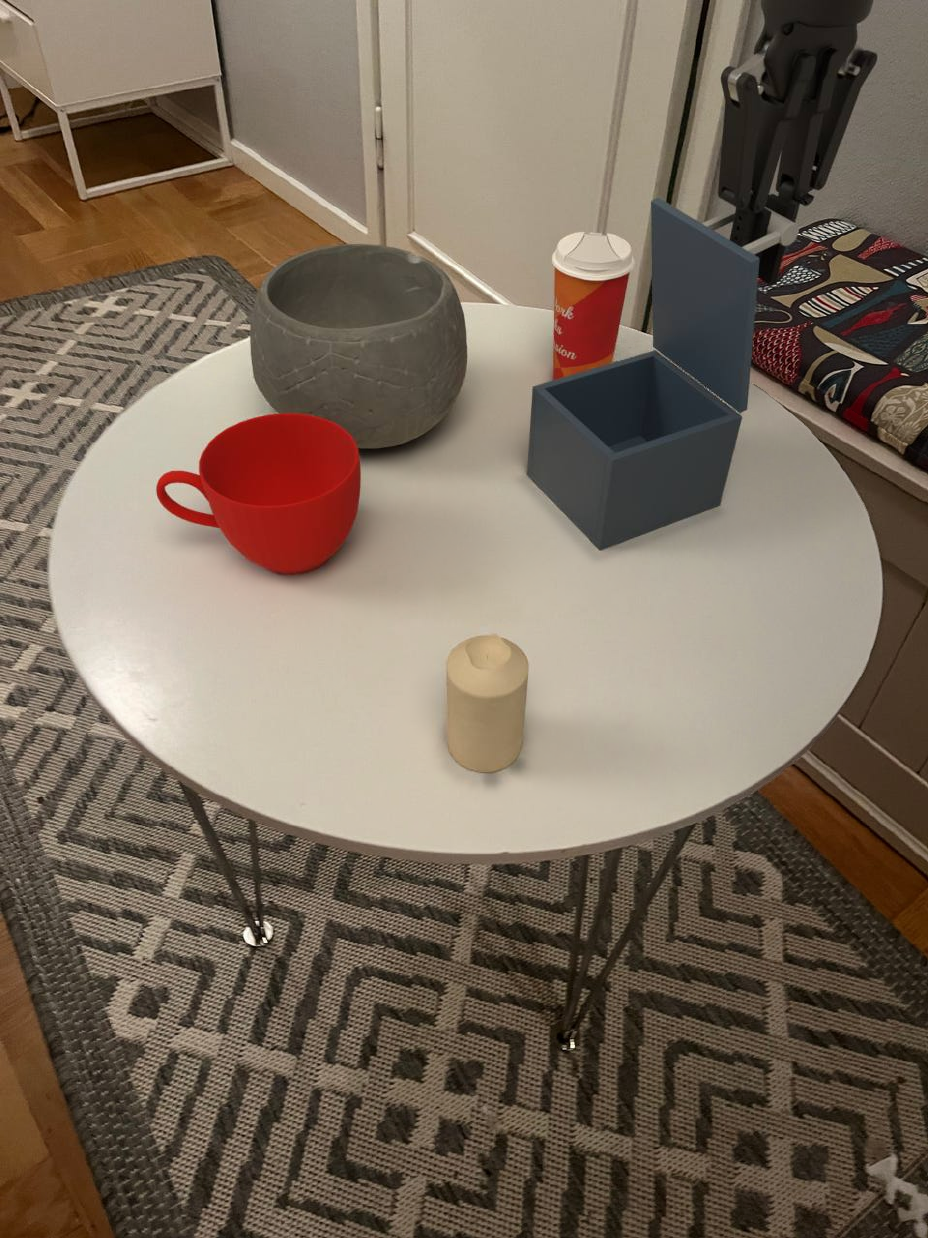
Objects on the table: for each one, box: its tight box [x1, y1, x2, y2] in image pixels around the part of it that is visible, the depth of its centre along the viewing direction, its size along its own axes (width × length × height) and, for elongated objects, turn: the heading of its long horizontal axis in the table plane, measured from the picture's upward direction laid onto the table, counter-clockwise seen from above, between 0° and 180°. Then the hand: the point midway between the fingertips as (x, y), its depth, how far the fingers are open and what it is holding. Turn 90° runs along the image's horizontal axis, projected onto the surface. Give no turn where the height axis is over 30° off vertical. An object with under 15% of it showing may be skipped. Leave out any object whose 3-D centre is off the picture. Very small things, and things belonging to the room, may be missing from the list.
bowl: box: [249, 243, 468, 449], centre depth 93 cm, size 21×21×15 cm
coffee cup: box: [551, 231, 636, 380], centre depth 99 cm, size 8×8×15 cm
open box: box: [526, 349, 743, 551], centre depth 87 cm, size 14×13×10 cm
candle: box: [445, 633, 529, 773], centre depth 66 cm, size 6×6×10 cm
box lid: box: [650, 197, 800, 414], centre depth 81 cm, size 14×13×8 cm
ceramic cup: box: [155, 413, 362, 576], centre depth 81 cm, size 13×17×10 cm
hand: (750, 279), depth 81 cm, fingers closed on box lid, 2 cm apart
